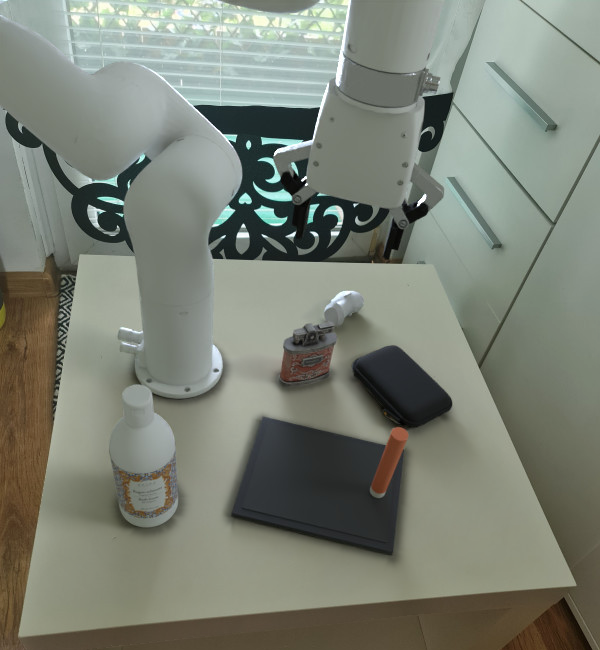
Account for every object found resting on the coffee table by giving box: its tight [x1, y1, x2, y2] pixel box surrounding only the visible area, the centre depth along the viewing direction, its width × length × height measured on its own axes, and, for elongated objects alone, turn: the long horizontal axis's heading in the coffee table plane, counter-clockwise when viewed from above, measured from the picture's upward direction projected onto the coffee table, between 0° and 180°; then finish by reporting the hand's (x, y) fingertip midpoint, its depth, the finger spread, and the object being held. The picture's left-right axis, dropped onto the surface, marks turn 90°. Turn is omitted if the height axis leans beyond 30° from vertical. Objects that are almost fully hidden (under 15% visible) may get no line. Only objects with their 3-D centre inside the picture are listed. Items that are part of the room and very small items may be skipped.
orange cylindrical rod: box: [370, 426, 409, 498], centre depth 74 cm, size 2×2×12 cm
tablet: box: [231, 415, 405, 556], centre depth 80 cm, size 20×16×1 cm
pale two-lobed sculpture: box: [323, 290, 365, 327], centre depth 101 cm, size 4×8×5 cm
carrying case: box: [351, 344, 453, 429], centre depth 91 cm, size 11×3×15 cm
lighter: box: [278, 321, 338, 388], centre depth 88 cm, size 8×3×10 cm, turn 114°
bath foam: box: [108, 384, 179, 528], centre depth 67 cm, size 7×7×20 cm
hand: (343, 242), depth 67 cm, fingers open, 9 cm apart
